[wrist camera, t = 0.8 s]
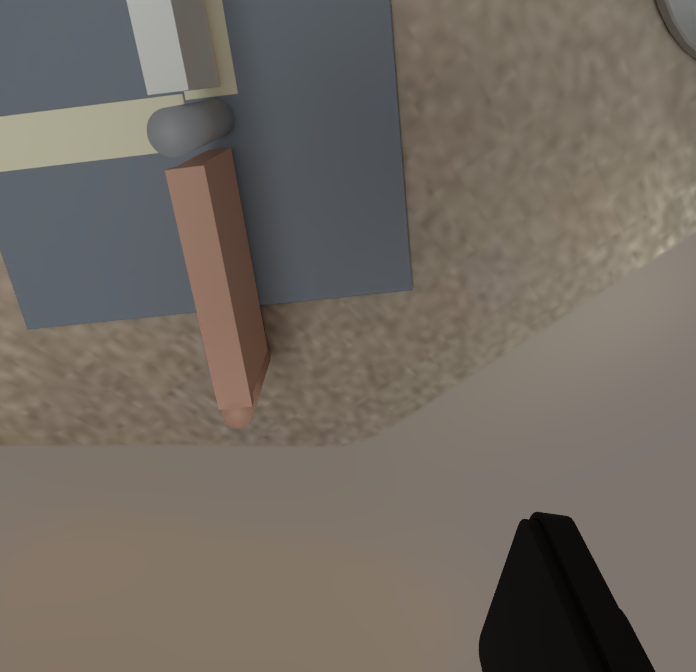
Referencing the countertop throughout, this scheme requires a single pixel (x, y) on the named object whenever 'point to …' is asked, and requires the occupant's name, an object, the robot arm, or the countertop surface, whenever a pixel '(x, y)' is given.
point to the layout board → (196, 149)
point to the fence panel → (221, 279)
